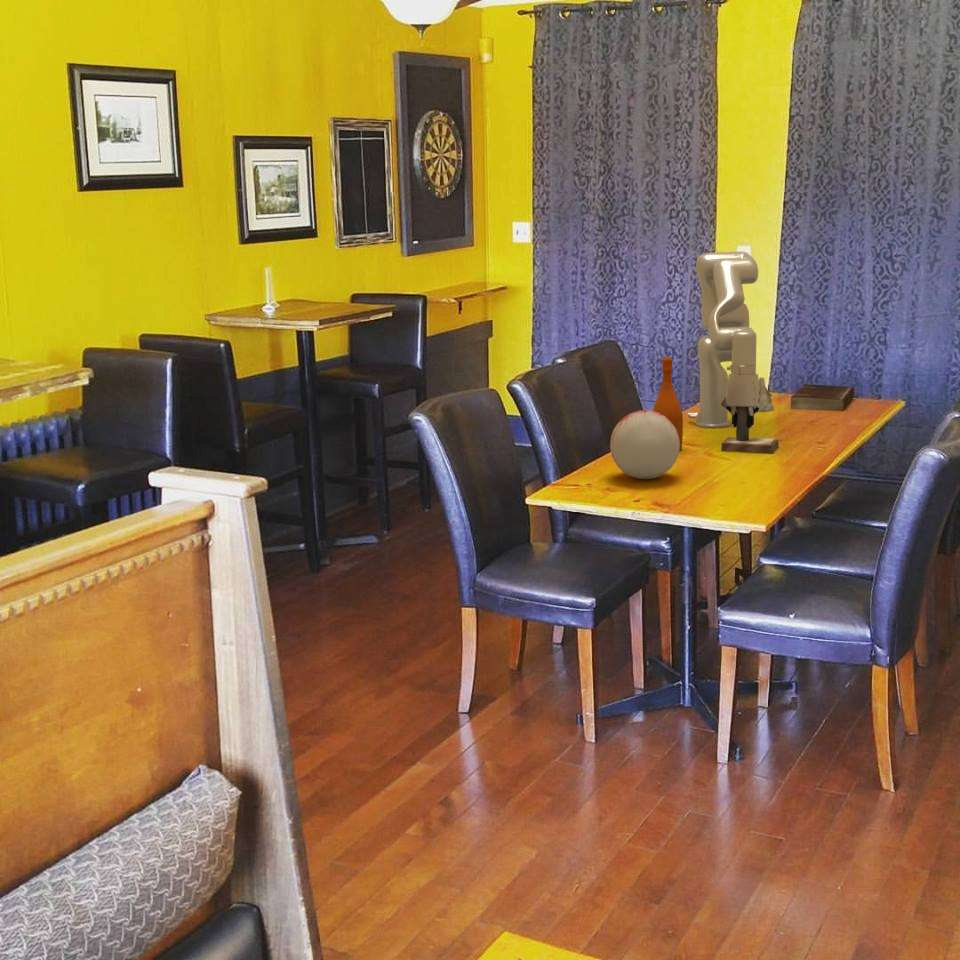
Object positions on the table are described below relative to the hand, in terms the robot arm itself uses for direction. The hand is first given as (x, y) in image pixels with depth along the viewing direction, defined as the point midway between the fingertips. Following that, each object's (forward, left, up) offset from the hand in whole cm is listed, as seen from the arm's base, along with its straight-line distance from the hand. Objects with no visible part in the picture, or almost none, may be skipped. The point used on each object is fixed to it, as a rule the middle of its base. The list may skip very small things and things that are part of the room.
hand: (742, 426), depth 390 cm
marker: (0, 0, -4) cm, 4 cm away
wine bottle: (-23, -8, -7) cm, 25 cm away
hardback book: (+12, +85, -8) cm, 87 cm away
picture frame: (+2, 0, -7) cm, 8 cm away
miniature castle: (-12, +68, -8) cm, 69 cm away
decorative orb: (-19, -47, -7) cm, 51 cm away
